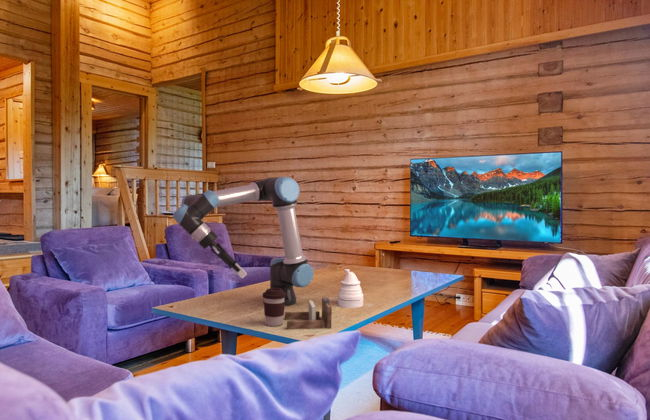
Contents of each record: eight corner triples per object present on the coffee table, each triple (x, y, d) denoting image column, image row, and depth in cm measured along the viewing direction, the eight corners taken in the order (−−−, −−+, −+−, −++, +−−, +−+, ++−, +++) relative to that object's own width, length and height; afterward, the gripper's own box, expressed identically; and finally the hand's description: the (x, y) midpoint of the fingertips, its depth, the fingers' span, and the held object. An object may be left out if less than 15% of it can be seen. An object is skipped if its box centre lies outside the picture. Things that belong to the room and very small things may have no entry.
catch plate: (311, 325, 194) (312, 306, 193) (308, 318, 206) (308, 300, 205) (315, 325, 194) (315, 306, 194) (312, 318, 206) (312, 300, 206)
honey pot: (341, 308, 227) (341, 272, 226) (335, 302, 239) (335, 267, 238) (366, 307, 229) (366, 271, 228) (359, 301, 242) (359, 267, 241)
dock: (287, 329, 190) (287, 304, 189) (284, 318, 206) (284, 295, 206) (332, 328, 192) (332, 303, 192) (326, 317, 209) (326, 295, 209)
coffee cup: (286, 321, 202) (286, 287, 202) (285, 327, 193) (285, 291, 192) (263, 321, 202) (263, 287, 202) (261, 327, 192) (261, 291, 192)
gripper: (199, 241, 198) (238, 279, 201) (195, 244, 185) (237, 285, 188) (212, 229, 199) (251, 267, 201) (209, 231, 186) (251, 272, 189)
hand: (244, 276), depth 195 cm, fingers closed
